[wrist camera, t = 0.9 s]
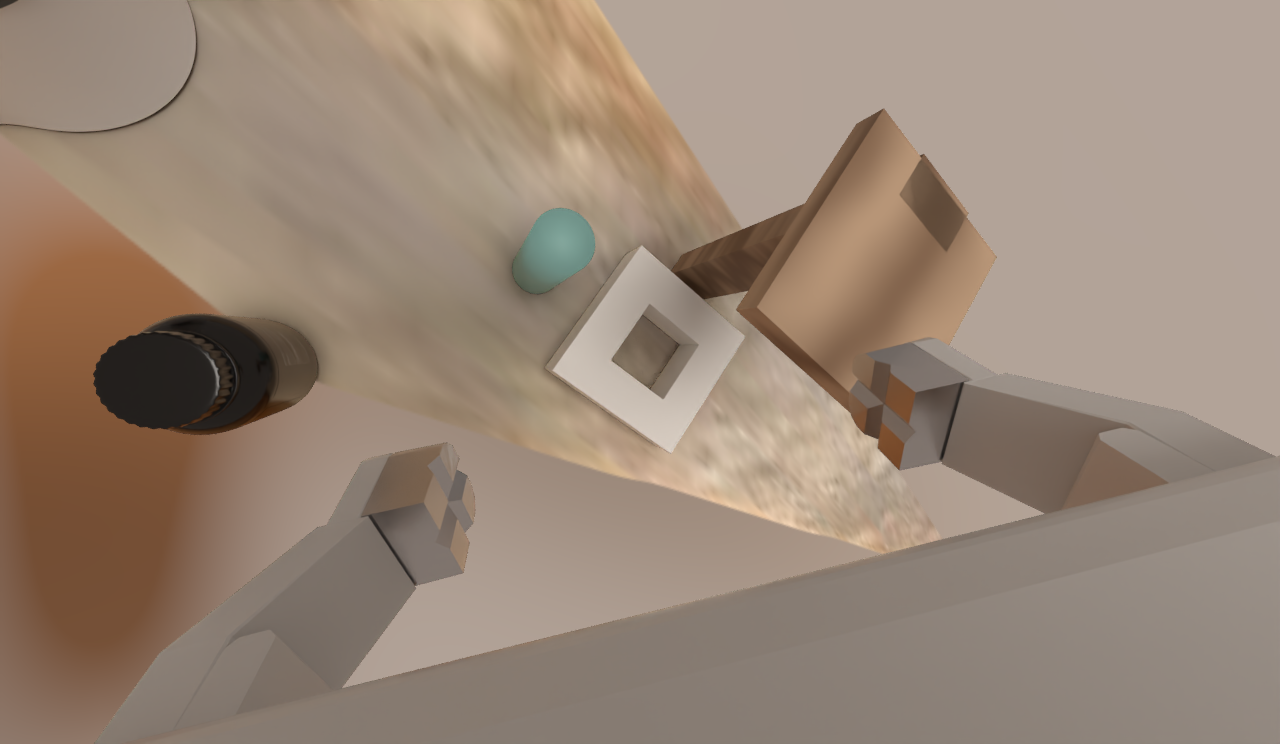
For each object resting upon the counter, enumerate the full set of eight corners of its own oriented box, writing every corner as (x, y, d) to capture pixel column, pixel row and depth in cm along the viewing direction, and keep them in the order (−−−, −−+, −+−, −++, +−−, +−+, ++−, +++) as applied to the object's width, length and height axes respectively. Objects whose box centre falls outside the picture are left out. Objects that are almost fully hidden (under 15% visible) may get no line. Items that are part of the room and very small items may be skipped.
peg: (502, 273, 38) (517, 244, 27) (530, 237, 39) (556, 194, 28) (541, 303, 40) (571, 286, 28) (567, 267, 40) (607, 237, 29)
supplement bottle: (202, 317, 31) (57, 302, 20) (319, 321, 34) (247, 309, 23) (205, 415, 32) (65, 454, 21) (321, 412, 34) (251, 445, 23)
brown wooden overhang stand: (592, 328, 41) (756, 307, 18) (659, 233, 43) (886, 104, 20) (672, 389, 45) (898, 438, 21) (731, 299, 47) (998, 253, 23)
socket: (544, 368, 40) (552, 370, 36) (625, 253, 42) (641, 245, 38) (653, 444, 44) (670, 453, 41) (722, 337, 46) (745, 336, 43)
